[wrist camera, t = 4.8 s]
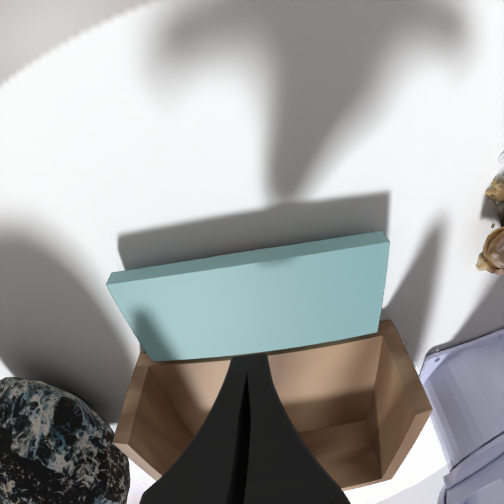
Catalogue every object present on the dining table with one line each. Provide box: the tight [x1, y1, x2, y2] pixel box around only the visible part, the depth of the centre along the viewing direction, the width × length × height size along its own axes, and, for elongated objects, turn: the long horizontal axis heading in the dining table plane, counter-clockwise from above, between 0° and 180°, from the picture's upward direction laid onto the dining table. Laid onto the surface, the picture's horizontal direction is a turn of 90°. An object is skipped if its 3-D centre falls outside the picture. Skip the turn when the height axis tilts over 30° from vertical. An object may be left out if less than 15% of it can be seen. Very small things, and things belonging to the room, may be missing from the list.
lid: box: [106, 231, 390, 361], centre depth 16 cm, size 14×2×6 cm
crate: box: [112, 320, 433, 491], centre depth 19 cm, size 17×12×7 cm
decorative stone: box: [0, 377, 130, 504], centre depth 17 cm, size 16×16×15 cm
